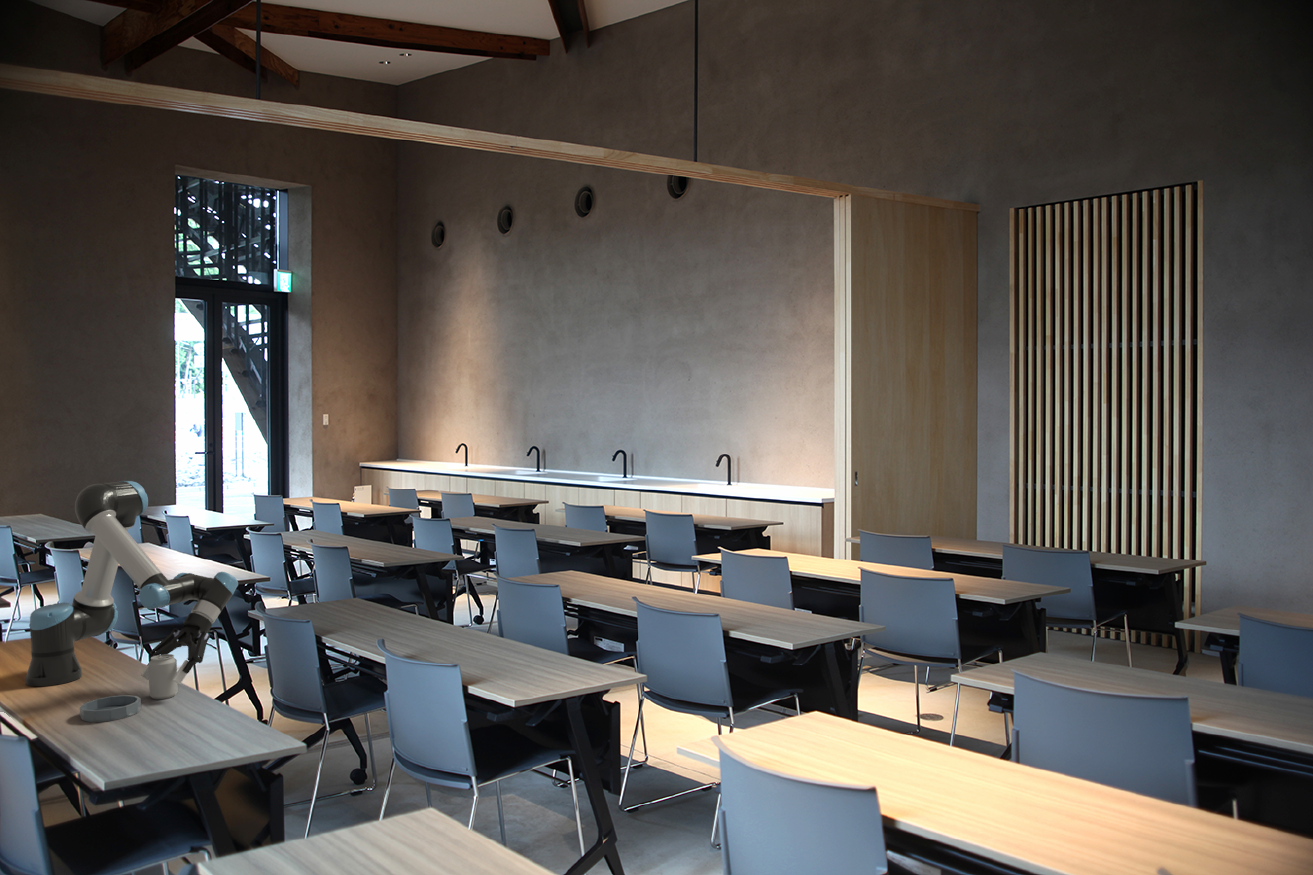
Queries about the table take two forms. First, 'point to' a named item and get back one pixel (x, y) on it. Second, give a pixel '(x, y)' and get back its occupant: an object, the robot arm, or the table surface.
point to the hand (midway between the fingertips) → (160, 679)
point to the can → (162, 676)
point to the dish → (110, 708)
